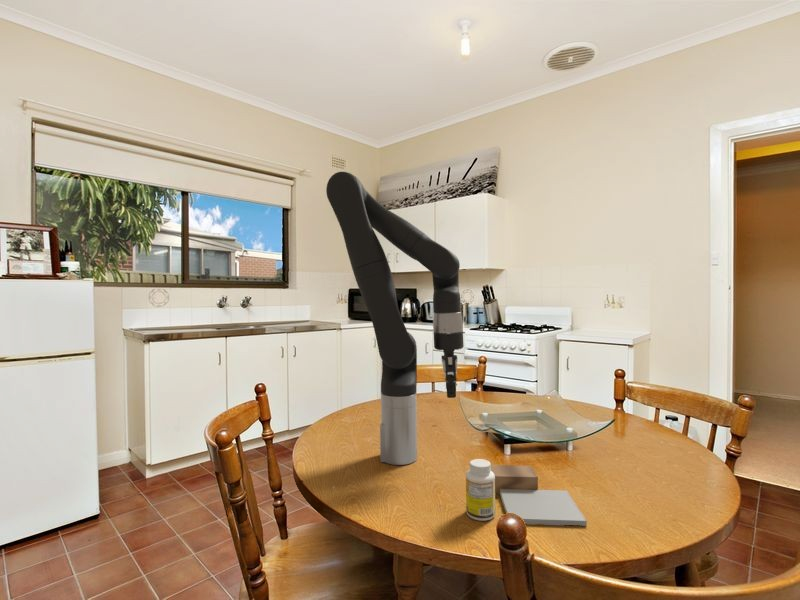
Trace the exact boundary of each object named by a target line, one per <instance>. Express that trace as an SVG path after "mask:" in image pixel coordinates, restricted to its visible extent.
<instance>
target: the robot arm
mask: <svg viewBox="0 0 800 600" xmlns="http://www.w3.org/2000/svg"><path fill="white" fill-rule="evenodd" d="M325 191H326V197H327V200H328V202H329V204H330V206H331V209H332V211H333V212H334V213H333V214H335V215H334V216H335V217H336V219H337V222H338V224H339V227H340V229H341V232H342V236H343V240H344V243H345V248H346V251H347V255H348V259H349V262H350V266H351V269H352V272H353V275H354V279H355V281H356V284H357V287H358V290H359V293H360V295H361V298H362V300H363V302H364V305H365V307H366V309H367V312H368V315H369V317H370V319H371V323H372V326H373V331H374V335H375V340H376V345H377V349H378V352H379V356H380V359H381V370H382V371H381V381H380V411H381V414H380V420H381V421H380V425H379V445H380V446H379V448H380V449H379V451H380V453H379V454H380V455H379V456H380V463H385V464H388V465H395V466H403V465H405V466H406V465H409V464H413V463H415V462H416V461H417V460H418V427H417V426H418V425H417V424H418V417H417V416H418V410H417V409H418V408H417V406H418V405H417V402H418V401H417V397H418V395H417V392H418V391H417V382H418V381H417V380H418V378H417V377H418V373H417V372H418V364H417V363H418V353H417V350H418V349H417V347H418V345H417V342H416V340H415V338H414V336H413V335H412V334H411V332H409V331H408V330H407V327H406V325H405V322H404V320H403V319H402V316H401V315H402V314H401V312H400V309H399V305H398V298H397V293H396V292H397V291H396V286H395V281H394V277H393V274H392V270H391V267H390V264H389V261H388V258H387V256H386V252H385V251H384V248H383V246H382V244H381V242H380V240H379V238H378V236H377V234H376V232H378V233H379V234H380V235H381V236H383V238H385V239H386V240H387V241H388V242H389V243H391V244H392V245H393V246H394V247H396V248H397V249H399V250H400V251H402V253H403V254H405V255H406V256H408V257H410V258H411V259H413V260H414V261H417V262H418V263H419V264H421V265H422V266H423V267H424V268H426V269H427V270H428V271H429V272H430V273H432V274H431V275H432V287H433V296H432V305H433V306H432V308H433V309H432V310H433V316H432V317H433V318H432V327H433V328H432V330H433V333H432V334H433V348H434V349H435V350H437V351H442V352H443V354H442V355H441V364H442V369H443V371H442V372H443V375H445V389H446V397H447V398H448V399H452V398H454V399H455V398H456V397H457V391H456V390H457V389H456V386H457V385H456V383H457V380H458V379H457V374H458V355H457V354H455V350H456V351H458V350H462V349H463V348H464V346H465V345H464V327H463V325H464V323H463V315H462V302H461V294H460V289H459V287H460V286H459V283H460V282H459V270H460V260H459V258H458V256H457V255H456V254H455V253H454V252H452V251H451V250H449V249H448V248H447V247H445V246H443V245H441V244H440V243H438V242H436V241H435V240H433V239H432V238H431V237H430V236H428V235H427V234H426V233H425V232H423V231H422V230H420V229H419V228H418V227H416V225H413V224H412V223H411V222H409V221H407V220H406V219H404V218H403V217H401V216H399V215H397V214H395V213H394V212H393V211H391V210H390V209H388V208H387V207H385V206H384V205H382V204H381V203H380V202H378V201H377V200H376V198H374V197H373V196H372V194H370V193H369V192H368V191H367V190H366V188H365V187H364V184H362V182H361V181H360V180H359V178H358V177H357V176H355V174H352V173H351V172H348V171H347V172H346V171H338V172H335V173H334V174H333V175H331V176H330V178H329V179H328V181H327V184H326V190H325ZM374 230H375V231H376V232H375V231H374Z"/></svg>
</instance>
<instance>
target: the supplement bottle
mask: <svg viewBox="0 0 800 600" xmlns="http://www.w3.org/2000/svg"><path fill="white" fill-rule="evenodd" d="M491 465H492V464H491V462H490V461H489V460H487V459H483V458H476V459H472V460H470V462H469V469H468V470H467V471H466V474H465V493H466V494H465V498H466V499H465V501H466V502H465V505H466V514H467V515H468V517H470V518H471V519H473V520H475V521H479V522H480V521H481V522H483V521H484V522H487V521H490V520H492V519H493V518H494V517H495V515H496V494H495V475H494V473H493V472H492V471H491Z"/></svg>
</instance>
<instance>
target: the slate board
mask: <svg viewBox="0 0 800 600" xmlns="http://www.w3.org/2000/svg"><path fill="white" fill-rule="evenodd" d="M499 495H500V499H501V502H502V505H503V508H504V512H505V511H506V512H505V514H506V513H514V514H516V515H518V516H520V517H521V518H522V519H523V520H524V522H525V523H526V524H525V525H533V524H541V525H540V526H542V524H543V525H544V526H564V525H580V526H579V527H588V526H587V525H588V521H587V519H586V518H585V516H584V514H583V513H582V511H581V510H580V508H579V507H578V505H577V504H576V503H575V502H576V501H574V499H573V498H572V496H571V494H570V493H569V491H568V490H559V489H558V490H555V489H538V490H523V489H500V494H499ZM581 525H582V526H581Z"/></svg>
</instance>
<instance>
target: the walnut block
mask: <svg viewBox="0 0 800 600" xmlns="http://www.w3.org/2000/svg"><path fill="white" fill-rule="evenodd" d="M491 471H492V472H493V473H494V475H495V495H496V494H498V495H500V489H523V490H539V477H538V475H537V473H536V472H535V470H534V468H533V467H532V465H510V464H509V465H502V464H491Z"/></svg>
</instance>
